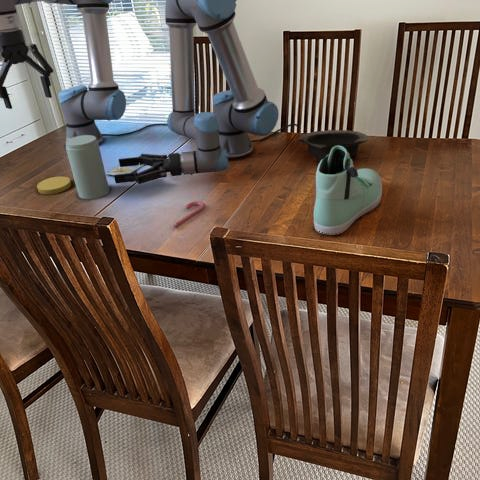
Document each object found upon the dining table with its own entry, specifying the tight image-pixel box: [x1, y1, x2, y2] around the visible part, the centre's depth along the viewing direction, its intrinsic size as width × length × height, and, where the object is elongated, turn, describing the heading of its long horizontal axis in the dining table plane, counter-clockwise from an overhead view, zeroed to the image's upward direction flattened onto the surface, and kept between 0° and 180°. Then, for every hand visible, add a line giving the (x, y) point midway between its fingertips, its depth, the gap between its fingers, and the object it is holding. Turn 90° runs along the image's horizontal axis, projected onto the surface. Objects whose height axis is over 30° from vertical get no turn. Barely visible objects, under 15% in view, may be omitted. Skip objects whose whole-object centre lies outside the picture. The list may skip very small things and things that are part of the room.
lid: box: [36, 175, 72, 195], centre depth 167 cm, size 11×11×2 cm
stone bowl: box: [297, 129, 371, 164], centre depth 171 cm, size 25×25×9 cm
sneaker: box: [313, 146, 383, 236], centre depth 133 cm, size 14×35×20 cm, turn 152°
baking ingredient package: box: [105, 163, 145, 176], centre depth 177 cm, size 9×1×15 cm
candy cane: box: [173, 200, 207, 229], centre depth 142 cm, size 6×15×2 cm, turn 145°
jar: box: [65, 135, 110, 200], centre depth 156 cm, size 10×10×18 cm
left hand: (29, 102), depth 152 cm, fingers open, 13 cm apart
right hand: (117, 170), depth 158 cm, fingers open, 13 cm apart
